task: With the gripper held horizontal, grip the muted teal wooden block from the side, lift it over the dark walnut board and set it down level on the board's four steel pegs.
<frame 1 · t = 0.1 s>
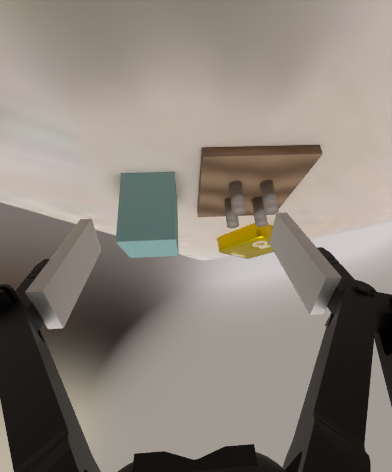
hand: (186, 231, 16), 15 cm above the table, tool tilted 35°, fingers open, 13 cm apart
teal block: (152, 187, 37), on the table
peg board: (245, 184, 38), on the table
element tile: (251, 234, 63), on the table
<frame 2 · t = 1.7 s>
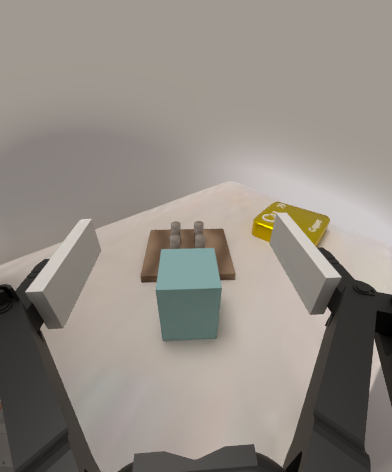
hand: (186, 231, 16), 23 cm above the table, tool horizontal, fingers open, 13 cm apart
teal block: (189, 316, 36), on the table
peg board: (187, 254, 50), on the table
element tile: (287, 233, 58), on the table
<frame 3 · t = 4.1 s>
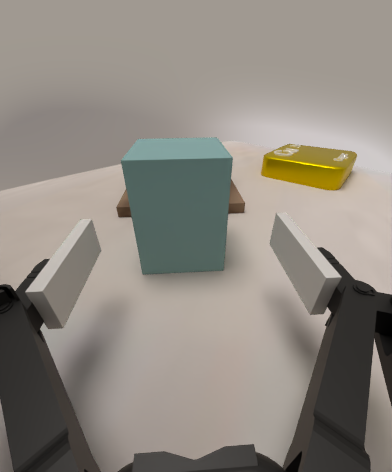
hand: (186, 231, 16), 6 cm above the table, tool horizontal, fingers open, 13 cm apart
teal block: (182, 248, 25), on the table
peg board: (181, 192, 39), on the table
element tile: (304, 175, 48), on the table
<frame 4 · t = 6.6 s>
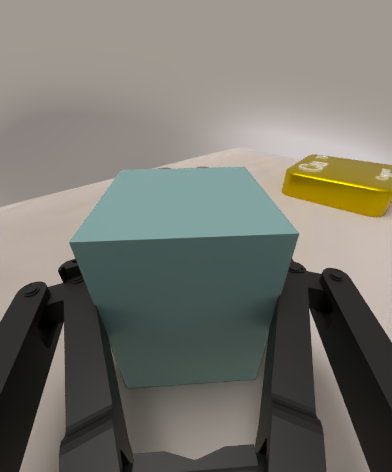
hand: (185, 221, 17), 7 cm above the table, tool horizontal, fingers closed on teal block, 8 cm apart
teal block: (189, 326, 17), on the table, touching gripper
element tile: (334, 193, 40), on the table
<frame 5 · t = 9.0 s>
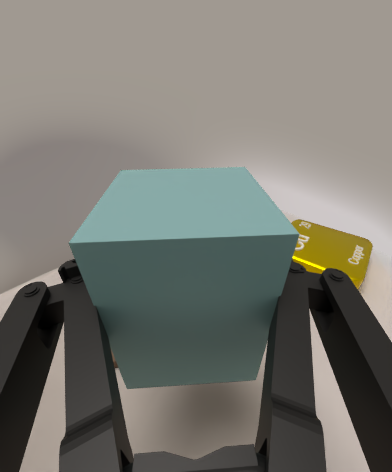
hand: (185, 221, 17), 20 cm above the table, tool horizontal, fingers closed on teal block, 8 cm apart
teal block: (189, 326, 17), point 13 cm above the table, touching gripper
element tile: (315, 262, 45), on the table
when the fingers open (14 cm above the table, at t = 11.7 s): teal block stays where it is, resting on peg board.
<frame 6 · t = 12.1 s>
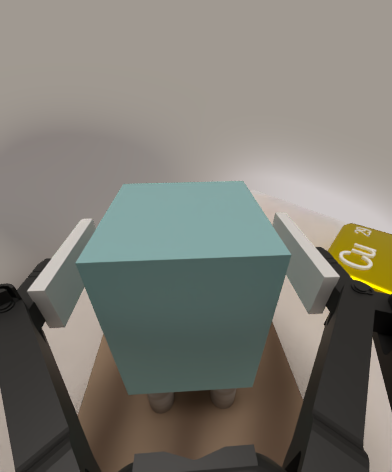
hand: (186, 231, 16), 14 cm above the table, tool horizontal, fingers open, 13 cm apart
teal block: (189, 333, 18), point 6 cm above the table, touching peg board
peg board: (191, 373, 21), on the table
element tile: (382, 284, 31), on the table
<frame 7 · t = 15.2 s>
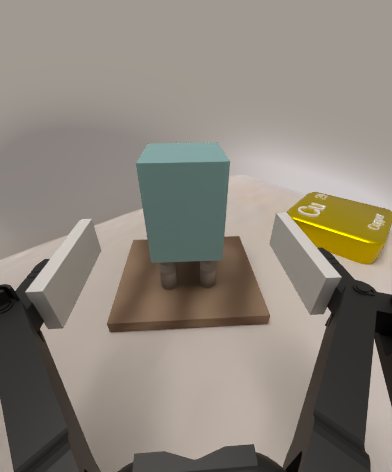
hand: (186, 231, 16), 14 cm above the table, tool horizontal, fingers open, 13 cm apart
teal block: (186, 241, 28), point 6 cm above the table, touching peg board
peg board: (188, 277, 32), on the table
element tile: (331, 233, 43), on the table
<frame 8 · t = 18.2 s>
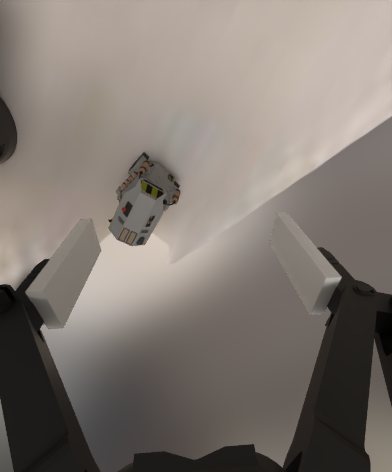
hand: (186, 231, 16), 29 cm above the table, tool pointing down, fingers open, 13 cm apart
figurine: (148, 184, 44), on the table
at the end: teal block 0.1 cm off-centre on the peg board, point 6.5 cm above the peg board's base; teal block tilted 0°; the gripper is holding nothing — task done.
